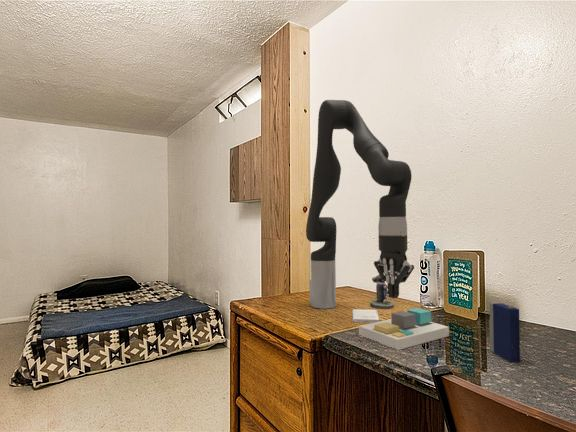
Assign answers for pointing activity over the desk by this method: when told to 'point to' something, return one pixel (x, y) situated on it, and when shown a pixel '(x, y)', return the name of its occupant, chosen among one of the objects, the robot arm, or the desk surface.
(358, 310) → the external hard drive
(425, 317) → the key teal
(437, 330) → the keypad frame
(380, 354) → the desk surface
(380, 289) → the figurine
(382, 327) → the key ochre
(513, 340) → the navy blue upright slab
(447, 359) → the desk surface
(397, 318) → the key charcoal
